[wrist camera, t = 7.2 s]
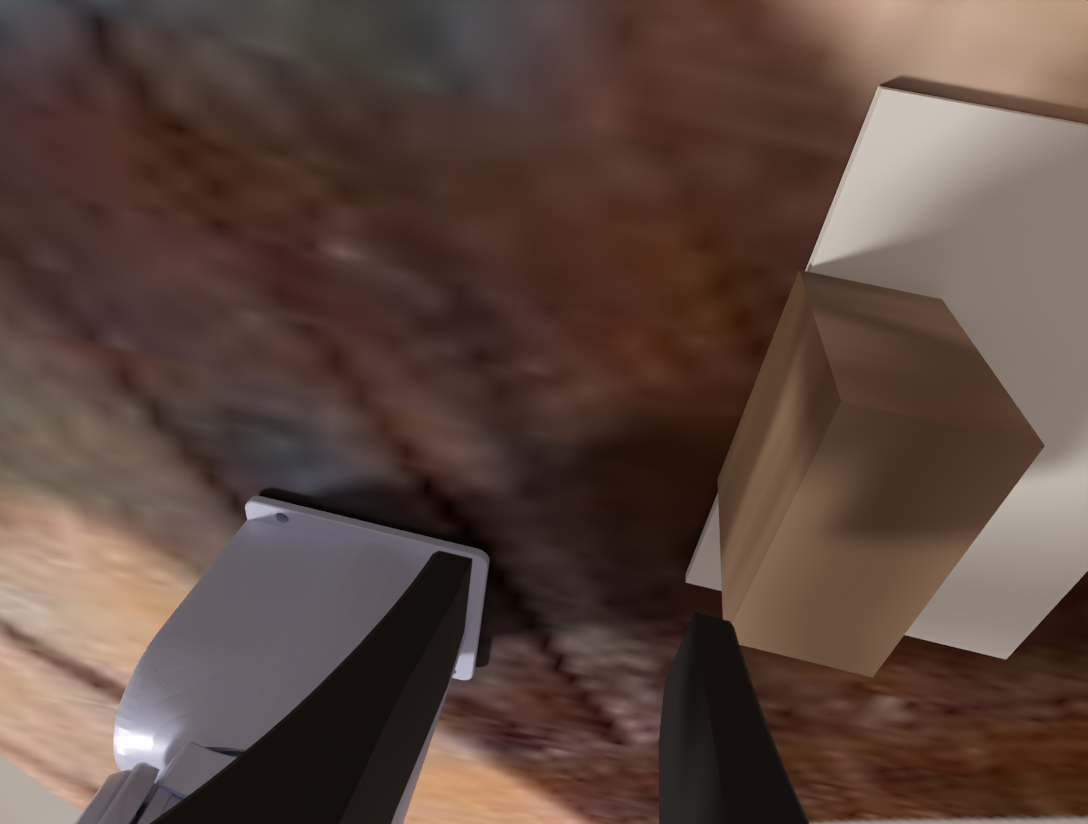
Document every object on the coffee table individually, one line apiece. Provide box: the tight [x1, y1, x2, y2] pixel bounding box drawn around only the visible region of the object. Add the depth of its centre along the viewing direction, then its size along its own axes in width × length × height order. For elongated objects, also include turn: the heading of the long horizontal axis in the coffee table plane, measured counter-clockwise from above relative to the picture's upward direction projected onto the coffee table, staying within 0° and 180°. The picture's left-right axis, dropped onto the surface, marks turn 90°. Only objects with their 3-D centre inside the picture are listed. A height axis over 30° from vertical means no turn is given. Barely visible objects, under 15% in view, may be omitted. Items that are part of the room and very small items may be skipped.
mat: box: [685, 86, 1088, 659], centre depth 19 cm, size 11×16×1 cm
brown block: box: [718, 270, 1045, 677], centre depth 16 cm, size 4×7×6 cm, turn 172°
